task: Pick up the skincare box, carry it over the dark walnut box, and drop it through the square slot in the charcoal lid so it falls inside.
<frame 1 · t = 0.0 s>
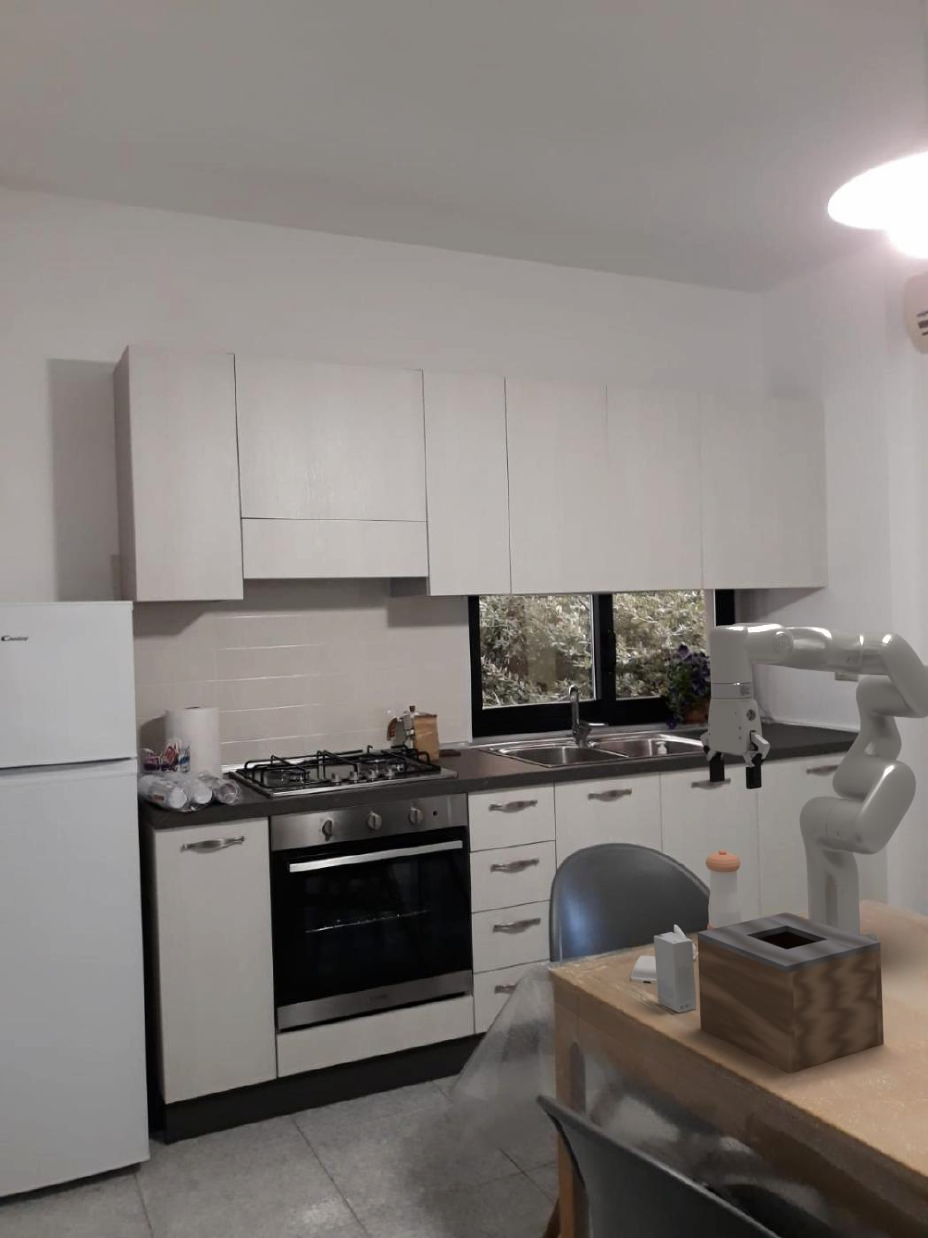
hand: (735, 784, 194), 37 cm above the table, tool pointing down, fingers open, 9 cm apart
pepper shaker: (725, 943, 218), on the table
slot box: (790, 1035, 170), on the table
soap: (650, 977, 201), on the table
rabbit figurine: (678, 958, 210), on the table
skincare box: (676, 1007, 184), on the table
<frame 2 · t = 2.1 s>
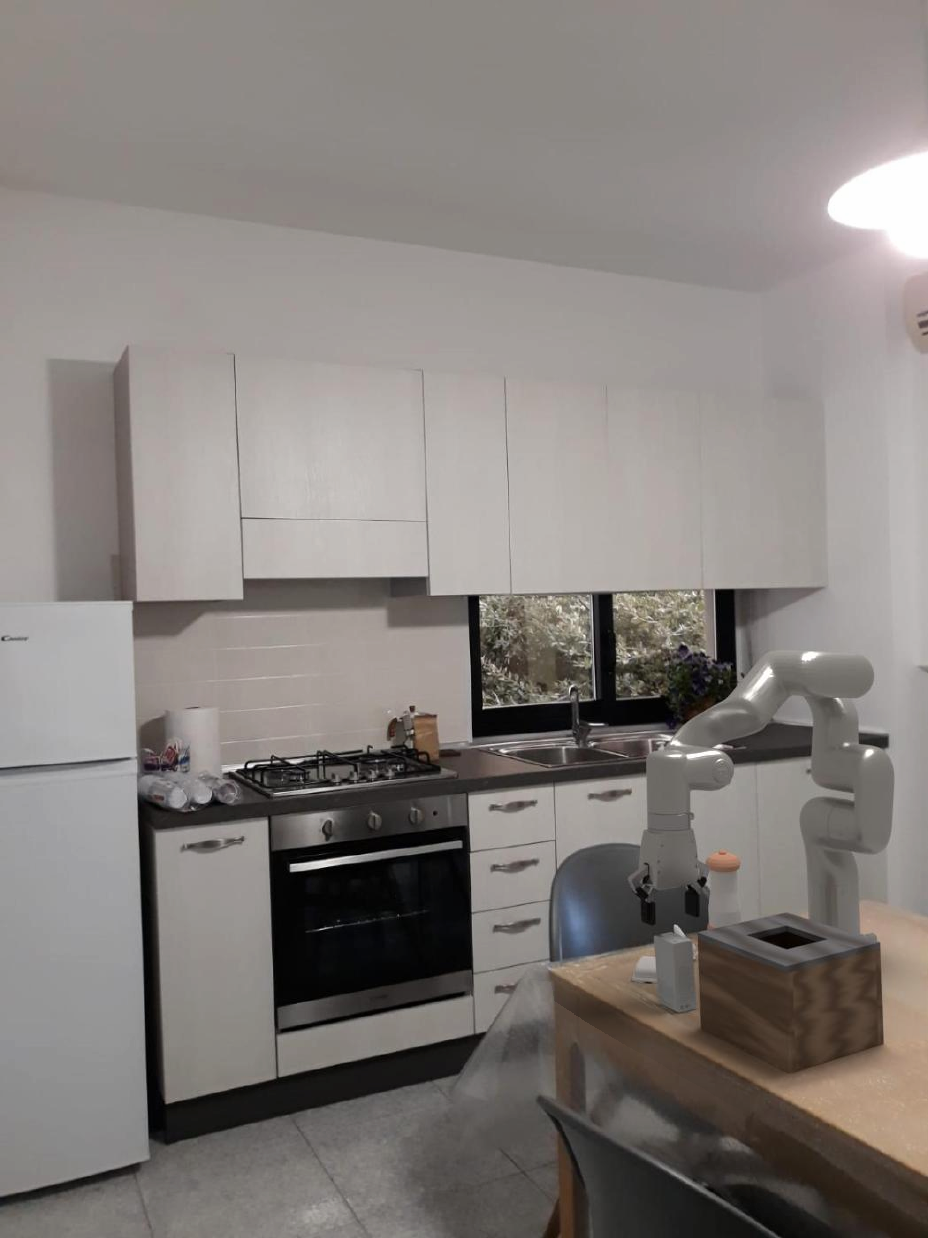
hand: (670, 919, 184), 15 cm above the table, tool pointing down, fingers open, 9 cm apart
nothing on the table moved.
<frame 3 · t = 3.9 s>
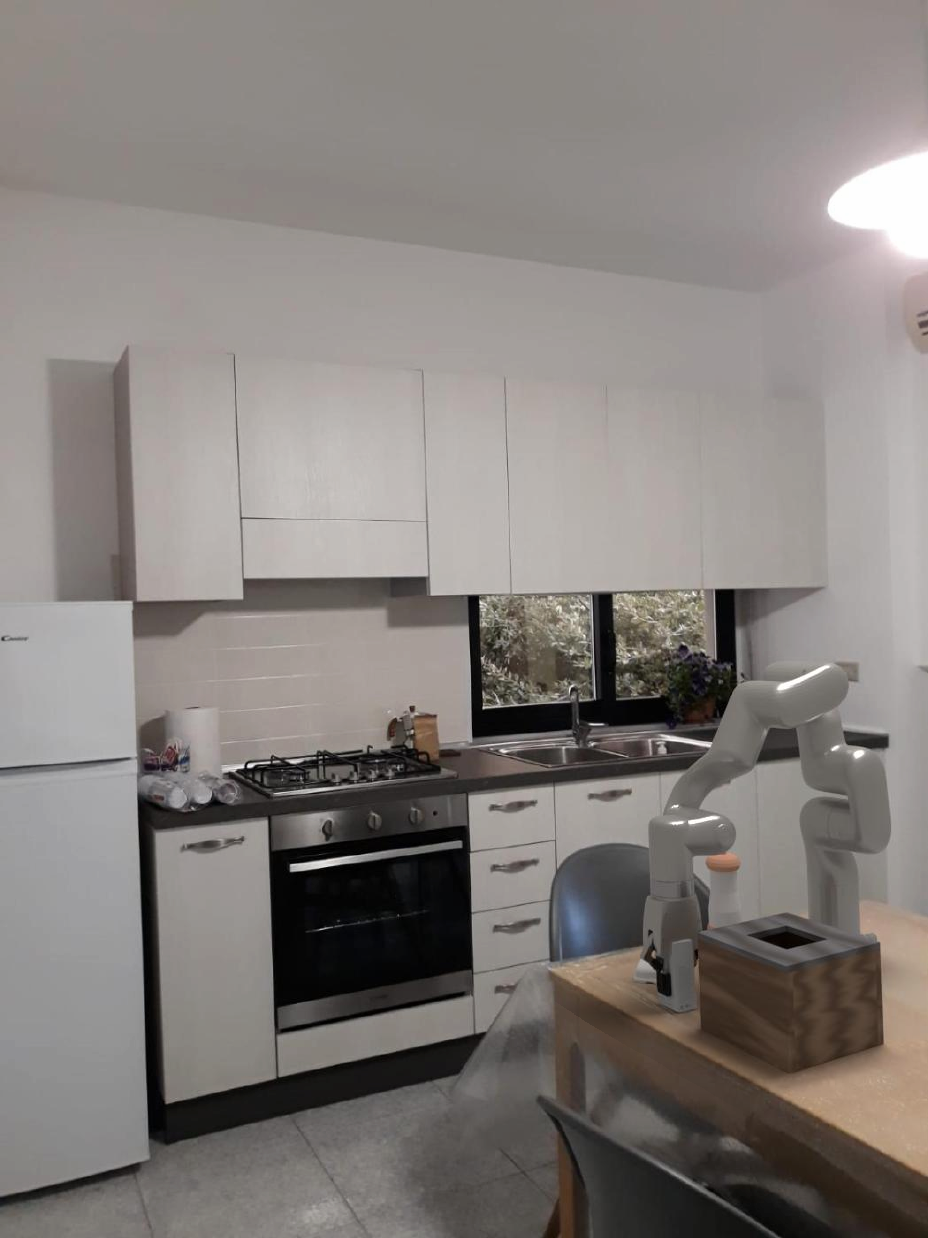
hand: (675, 990, 184), 3 cm above the table, tool pointing down, fingers closed on skincare box, 4 cm apart
skincare box: (676, 1007, 184), on the table, touching gripper
everything else where it was.
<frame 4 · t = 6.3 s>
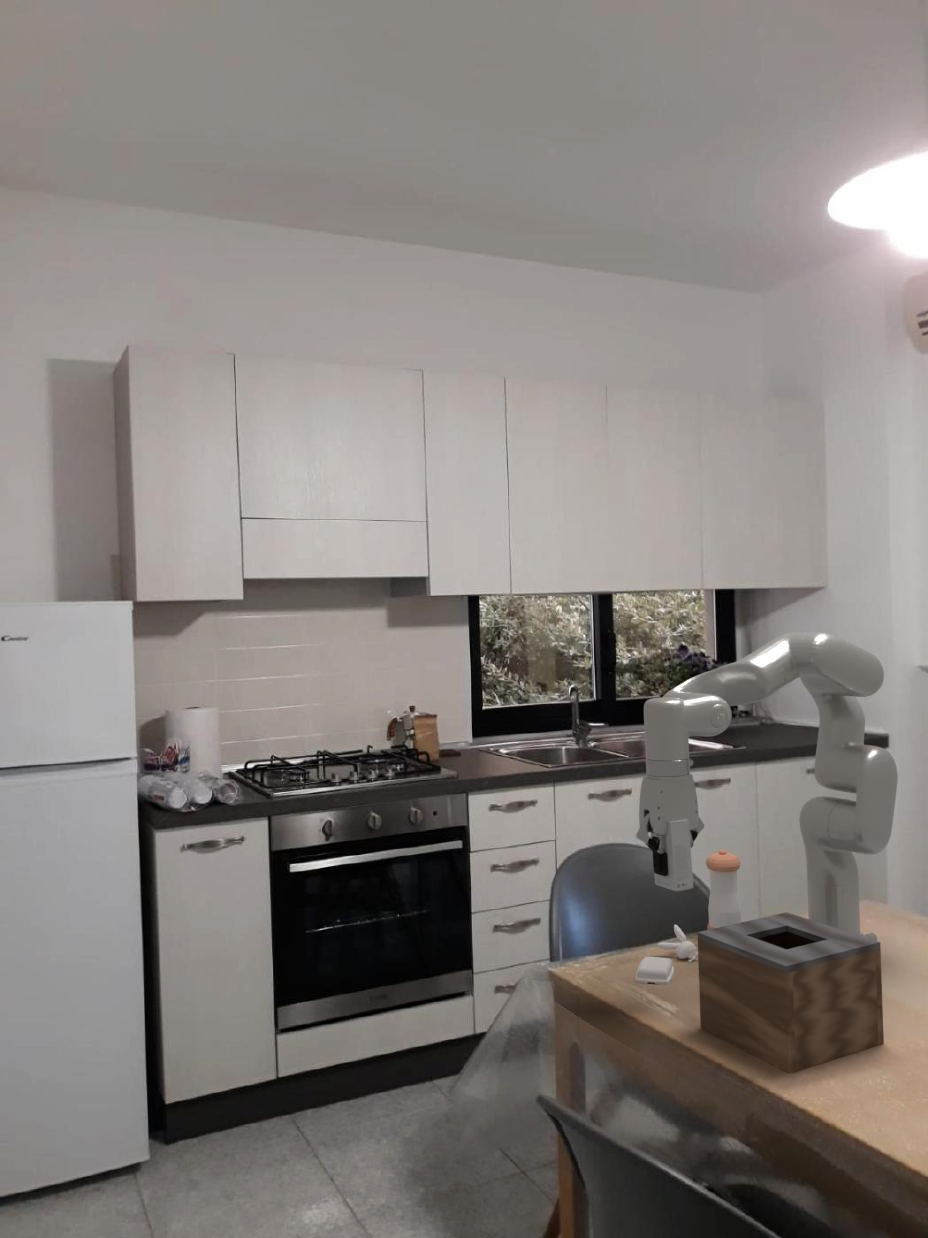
hand: (672, 871, 184), 24 cm above the table, tool pointing down, fingers closed on skincare box, 4 cm apart
skincare box: (673, 888, 184), point 21 cm above the table, touching gripper
everything else where it was.
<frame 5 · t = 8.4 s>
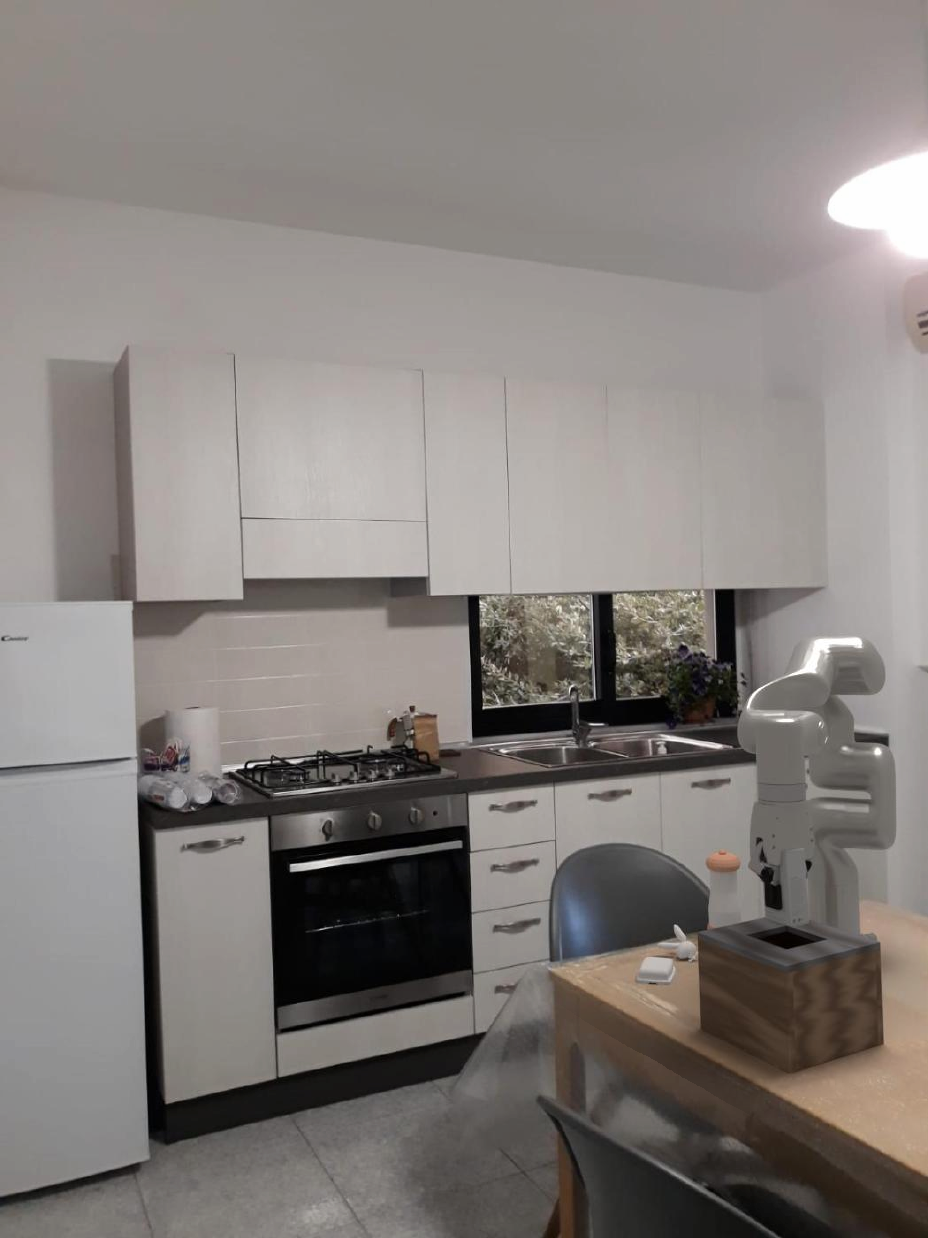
hand: (785, 904, 170), 21 cm above the table, tool pointing down, fingers closed on skincare box, 4 cm apart
skincare box: (785, 922, 170), point 18 cm above the table, touching gripper
when the fingers open (20 cm above the table, at t = 8.9 s): skincare box drops 16 cm, resting on slot box.
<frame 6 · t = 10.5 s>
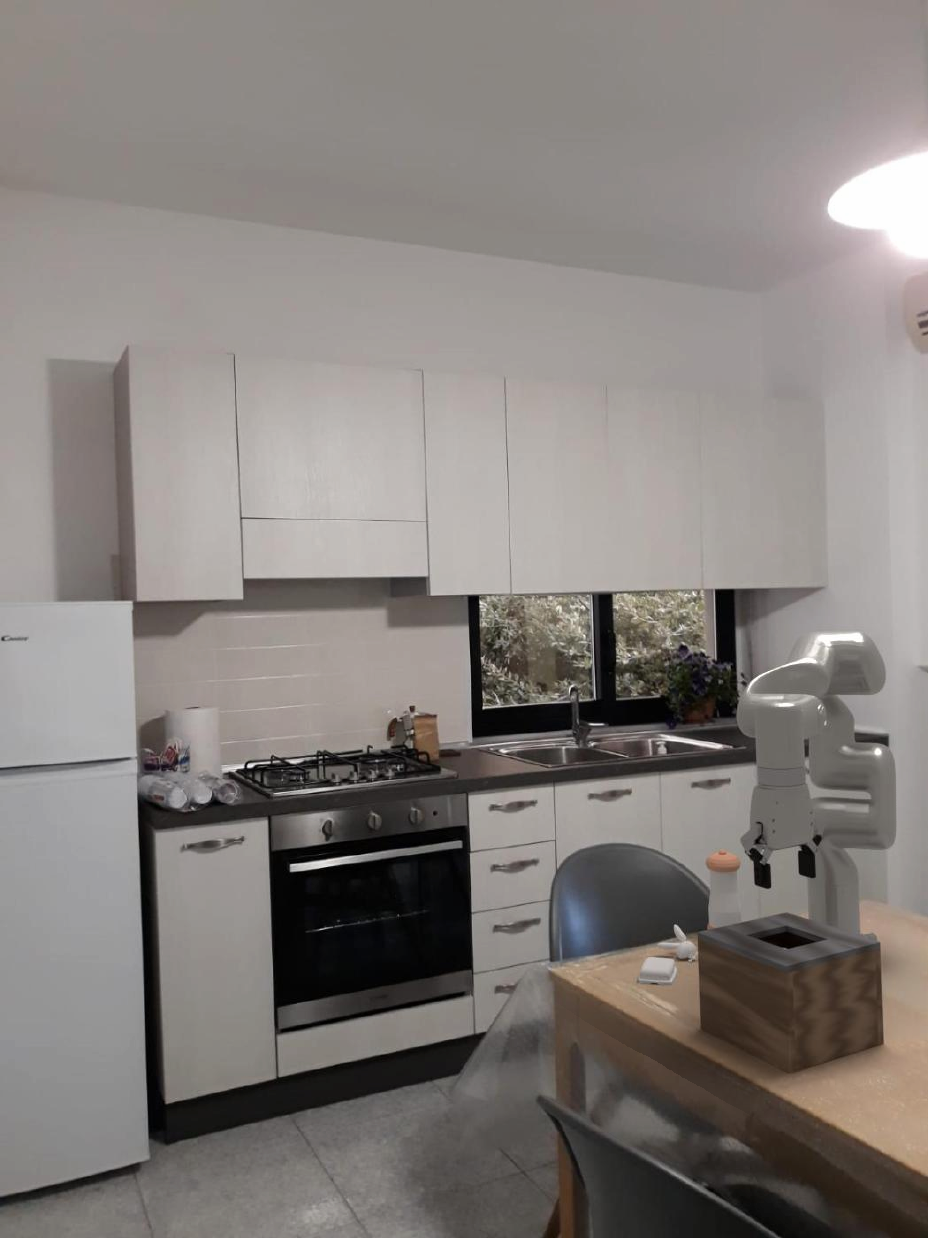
hand: (785, 881, 170), 25 cm above the table, tool pointing down, fingers open, 9 cm apart
skincare box: (794, 1029, 170), point 1 cm above the table, touching slot box
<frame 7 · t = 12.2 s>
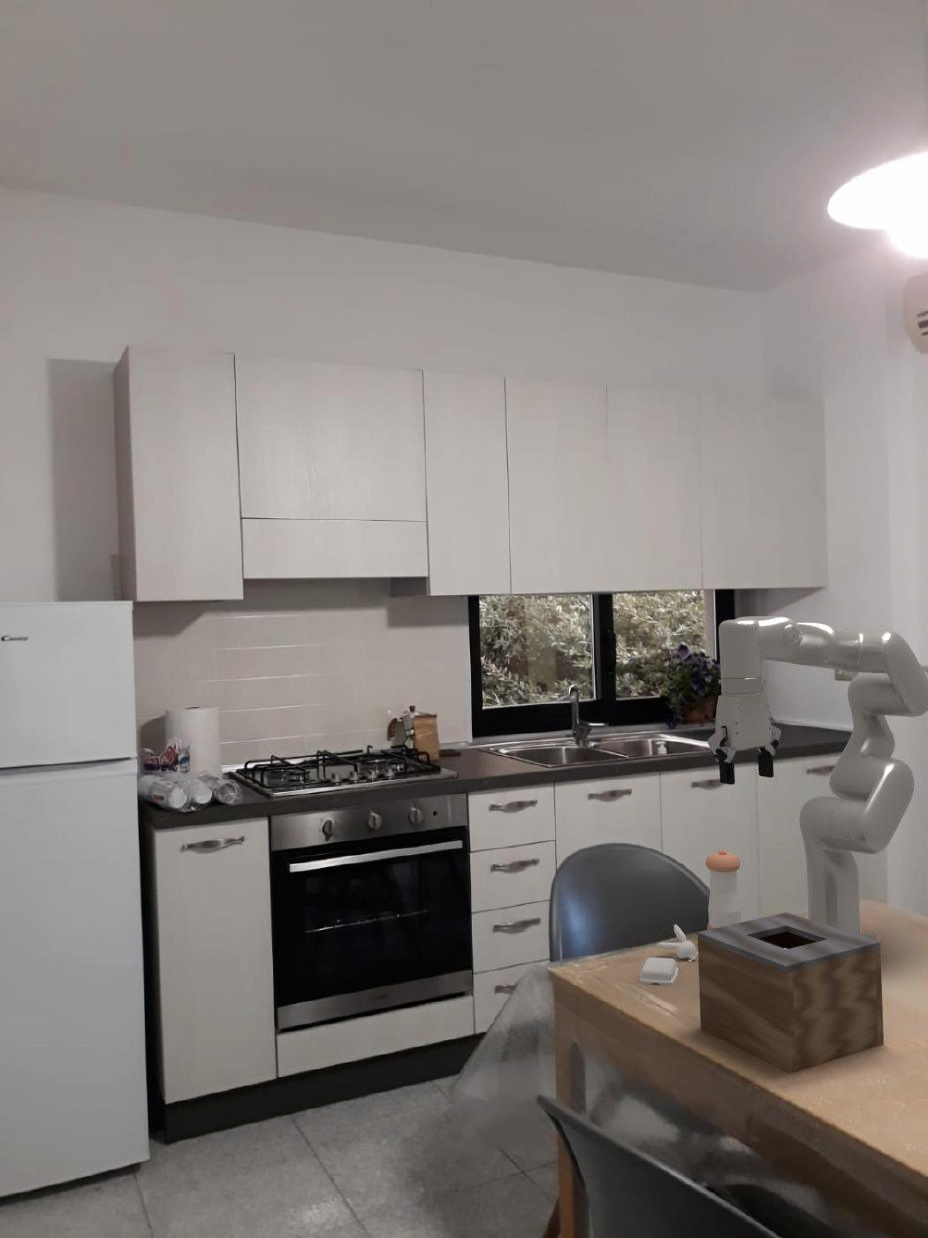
hand: (747, 780, 192), 38 cm above the table, tool pointing down, fingers open, 9 cm apart
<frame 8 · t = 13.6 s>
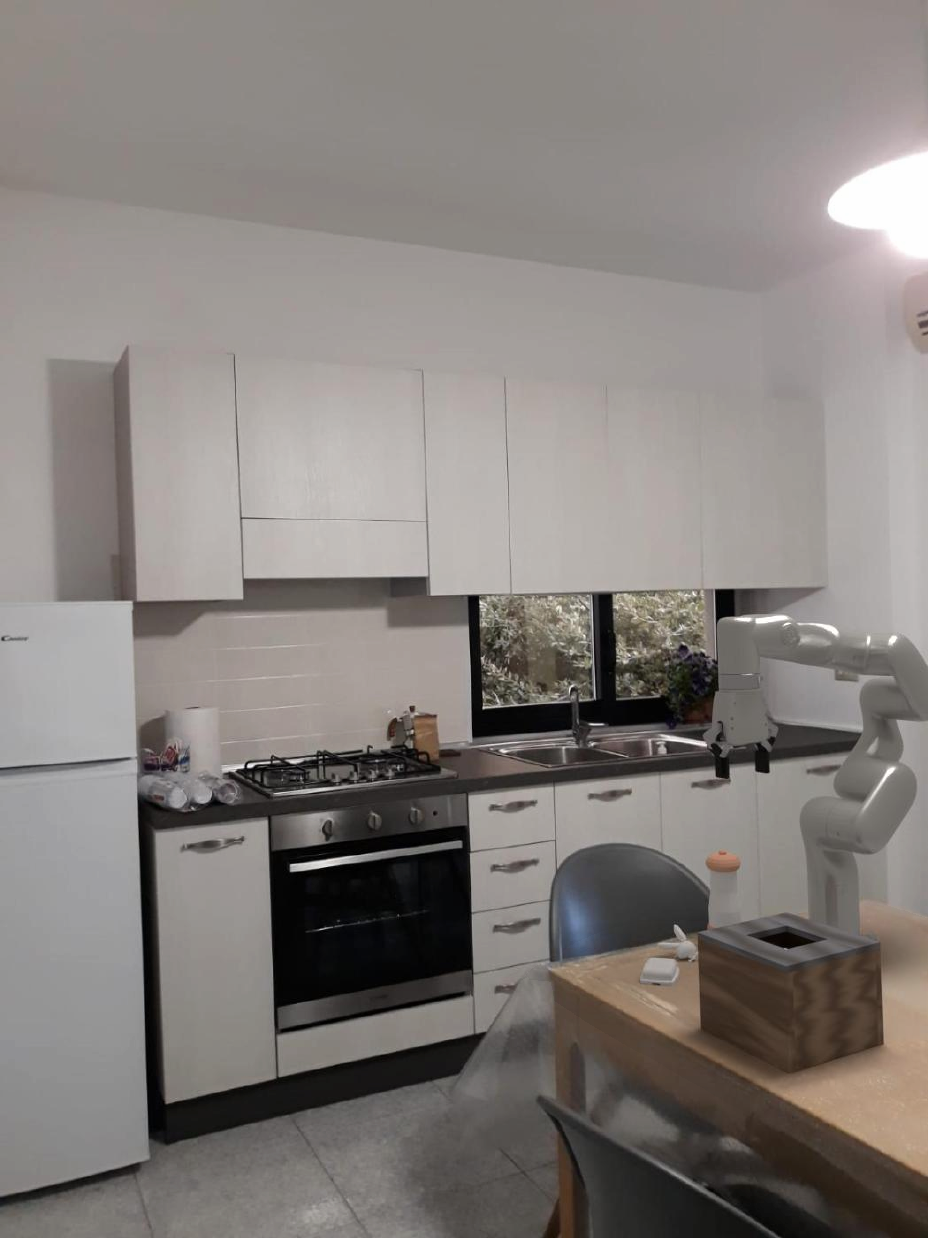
hand: (742, 775, 195), 38 cm above the table, tool pointing down, fingers open, 9 cm apart
at the end: skincare box inside the target area on the slot box (1.0 cm from its centre), point 0.8 cm above the slot box's base; the gripper is holding nothing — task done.
